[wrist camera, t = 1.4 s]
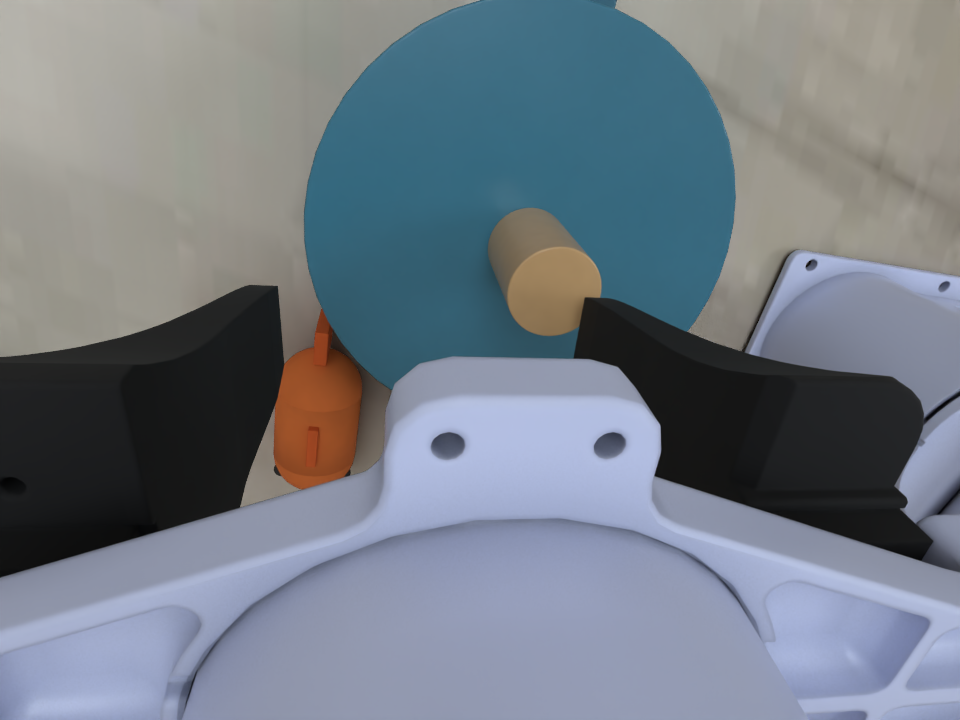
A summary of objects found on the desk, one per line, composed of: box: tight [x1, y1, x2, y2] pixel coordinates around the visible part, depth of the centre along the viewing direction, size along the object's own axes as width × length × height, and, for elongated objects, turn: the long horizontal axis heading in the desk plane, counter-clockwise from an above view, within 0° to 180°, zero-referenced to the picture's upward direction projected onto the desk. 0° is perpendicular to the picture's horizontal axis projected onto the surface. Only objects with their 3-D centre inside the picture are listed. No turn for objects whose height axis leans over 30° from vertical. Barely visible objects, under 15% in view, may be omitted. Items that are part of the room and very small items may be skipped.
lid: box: [304, 0, 736, 390], centre depth 17 cm, size 13×13×5 cm
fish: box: [274, 309, 362, 489], centre depth 24 cm, size 8×3×4 cm, turn 169°
